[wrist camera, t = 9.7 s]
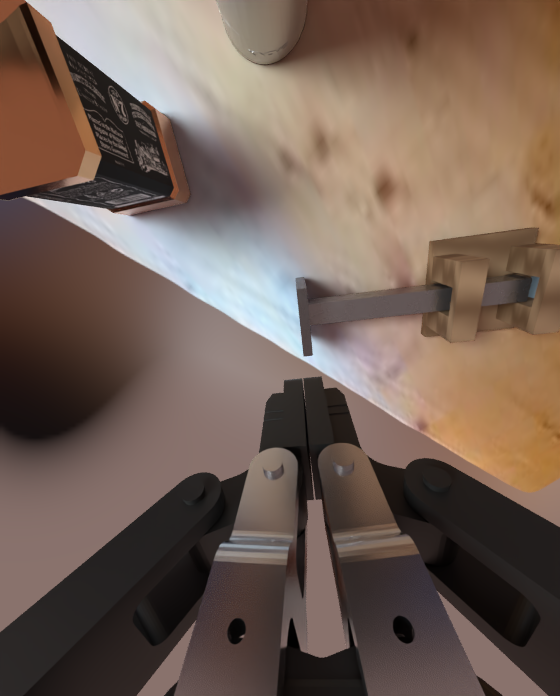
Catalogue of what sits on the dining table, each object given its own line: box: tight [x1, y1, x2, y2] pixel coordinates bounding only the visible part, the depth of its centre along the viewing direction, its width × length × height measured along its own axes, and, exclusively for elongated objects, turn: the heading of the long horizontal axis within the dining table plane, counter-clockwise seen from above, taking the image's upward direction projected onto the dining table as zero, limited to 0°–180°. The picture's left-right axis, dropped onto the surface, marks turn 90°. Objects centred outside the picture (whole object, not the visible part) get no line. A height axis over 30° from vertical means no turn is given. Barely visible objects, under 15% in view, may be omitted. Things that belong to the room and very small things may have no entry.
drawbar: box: [296, 274, 533, 356], centre depth 35 cm, size 9×30×8 cm, turn 98°
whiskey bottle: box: [0, 0, 191, 216], centre depth 20 cm, size 10×10×32 cm
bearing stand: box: [421, 228, 560, 343], centre depth 35 cm, size 14×13×8 cm
